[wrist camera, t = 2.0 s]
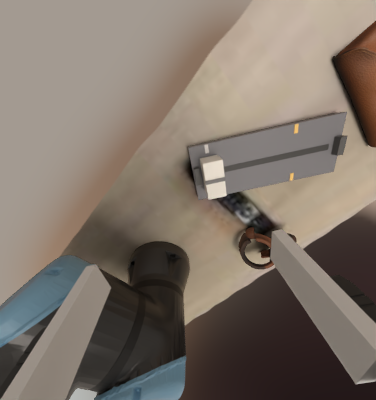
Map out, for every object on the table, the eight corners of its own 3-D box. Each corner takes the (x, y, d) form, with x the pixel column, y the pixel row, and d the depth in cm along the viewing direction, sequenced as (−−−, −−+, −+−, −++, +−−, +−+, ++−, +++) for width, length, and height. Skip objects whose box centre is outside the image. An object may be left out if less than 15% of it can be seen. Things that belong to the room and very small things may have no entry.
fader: (204, 190, 29) (208, 200, 25) (199, 158, 26) (202, 164, 23) (221, 186, 29) (227, 196, 25) (217, 154, 26) (223, 159, 23)
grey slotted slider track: (197, 195, 32) (199, 202, 29) (187, 146, 28) (188, 149, 25) (324, 168, 31) (339, 173, 28) (335, 112, 27) (354, 111, 24)
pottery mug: (253, 258, 42) (250, 278, 35) (234, 228, 43) (228, 242, 35) (301, 243, 36) (310, 263, 29) (278, 208, 37) (282, 220, 30)
